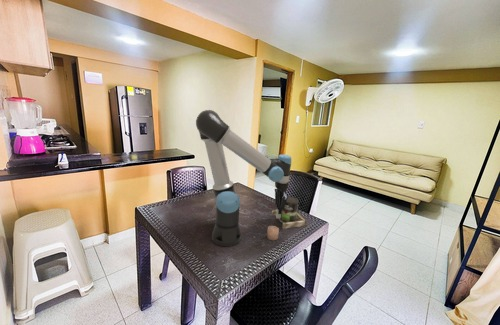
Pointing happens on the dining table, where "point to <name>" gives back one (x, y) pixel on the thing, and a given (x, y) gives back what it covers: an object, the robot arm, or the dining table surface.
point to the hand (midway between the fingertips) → (278, 217)
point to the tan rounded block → (272, 233)
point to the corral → (293, 224)
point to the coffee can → (289, 210)
